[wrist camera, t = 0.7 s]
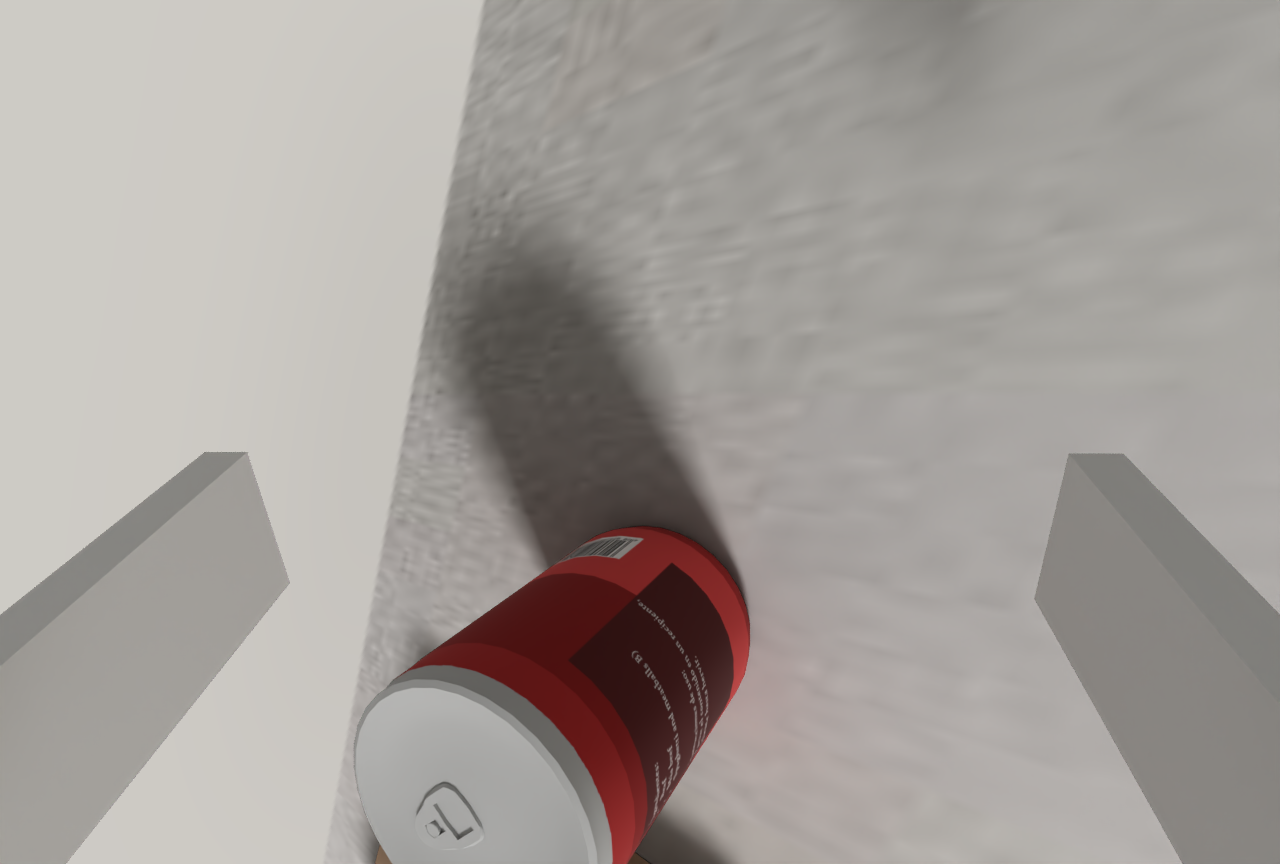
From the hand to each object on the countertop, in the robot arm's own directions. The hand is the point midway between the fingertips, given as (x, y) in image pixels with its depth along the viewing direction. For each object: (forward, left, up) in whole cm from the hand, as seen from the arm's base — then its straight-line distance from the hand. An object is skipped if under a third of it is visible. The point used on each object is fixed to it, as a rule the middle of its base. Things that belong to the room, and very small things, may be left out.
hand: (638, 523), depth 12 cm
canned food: (+11, -2, -12) cm, 17 cm away
